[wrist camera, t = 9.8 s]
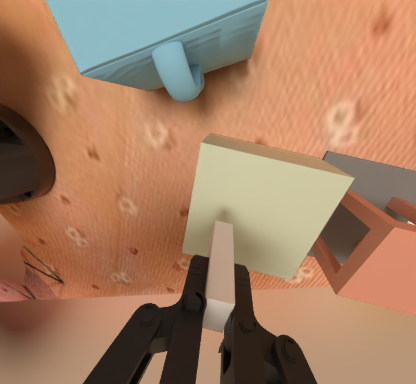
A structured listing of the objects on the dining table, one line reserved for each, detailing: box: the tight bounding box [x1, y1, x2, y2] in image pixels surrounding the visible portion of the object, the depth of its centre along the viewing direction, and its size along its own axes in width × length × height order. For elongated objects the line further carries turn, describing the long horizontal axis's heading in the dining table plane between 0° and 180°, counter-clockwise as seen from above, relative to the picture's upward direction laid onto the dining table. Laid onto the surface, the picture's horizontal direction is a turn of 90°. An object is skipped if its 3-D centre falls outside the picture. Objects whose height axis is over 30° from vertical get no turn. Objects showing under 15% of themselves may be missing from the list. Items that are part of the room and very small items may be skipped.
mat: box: [307, 151, 416, 264], centre depth 24 cm, size 14×16×1 cm
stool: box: [311, 188, 416, 315], centre depth 20 cm, size 10×9×9 cm
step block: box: [182, 133, 355, 280], centre depth 22 cm, size 14×14×7 cm
